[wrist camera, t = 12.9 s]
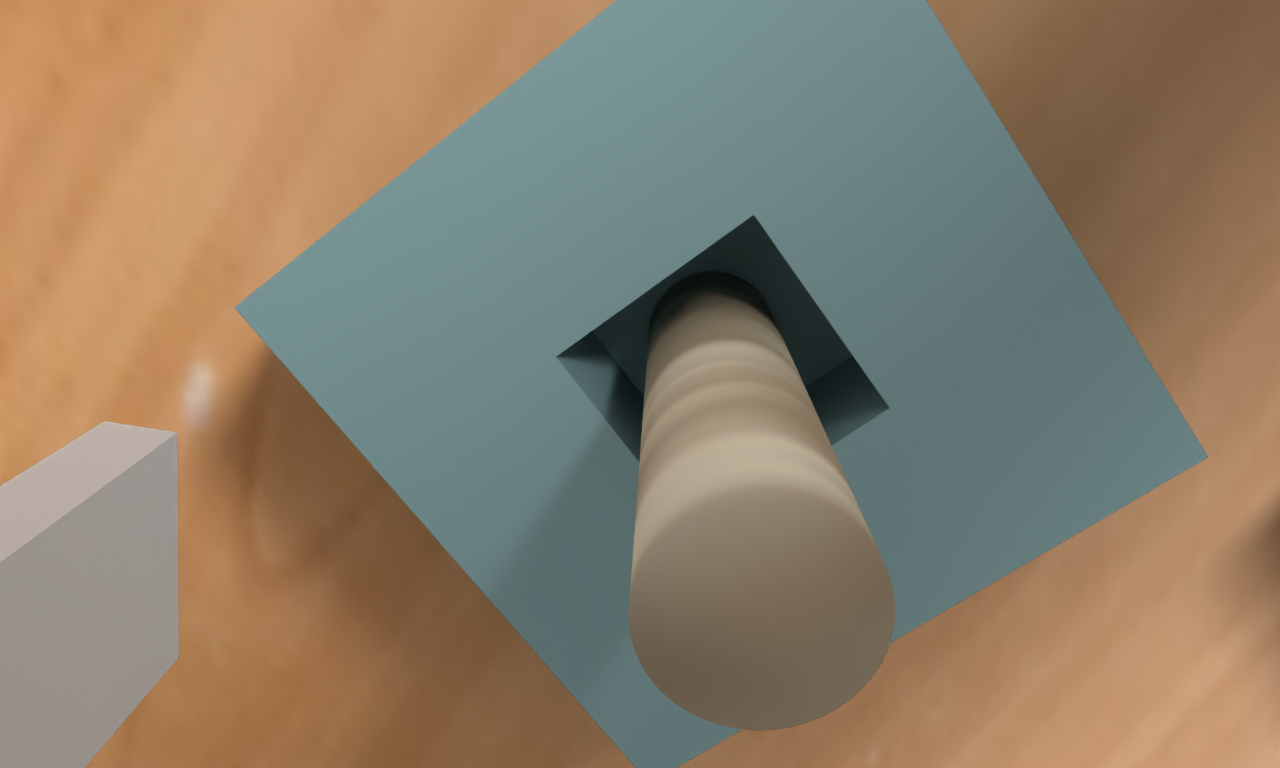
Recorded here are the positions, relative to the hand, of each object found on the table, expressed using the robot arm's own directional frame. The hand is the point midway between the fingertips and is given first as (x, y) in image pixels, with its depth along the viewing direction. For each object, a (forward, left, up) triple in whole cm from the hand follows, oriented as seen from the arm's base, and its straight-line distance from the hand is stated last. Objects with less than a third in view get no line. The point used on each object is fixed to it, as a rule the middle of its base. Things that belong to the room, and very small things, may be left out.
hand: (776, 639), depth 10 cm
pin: (0, 0, -14) cm, 14 cm away
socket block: (0, 0, -15) cm, 15 cm away
